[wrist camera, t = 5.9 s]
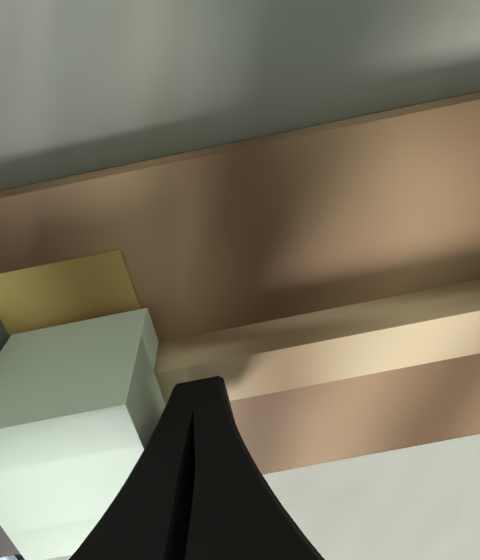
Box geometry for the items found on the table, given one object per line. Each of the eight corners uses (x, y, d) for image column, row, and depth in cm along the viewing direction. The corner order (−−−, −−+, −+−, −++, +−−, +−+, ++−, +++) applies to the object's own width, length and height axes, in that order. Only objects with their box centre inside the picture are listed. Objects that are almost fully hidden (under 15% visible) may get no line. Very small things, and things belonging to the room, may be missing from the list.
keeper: (68, 443, 15) (26, 562, 11) (12, 334, 13) (-61, 440, 9) (185, 420, 15) (179, 534, 11) (147, 308, 13) (125, 404, 9)
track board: (56, 491, 18) (13, 617, 14) (-106, 212, 12) (-256, 290, 8) (500, 407, 17) (588, 513, 13) (540, 78, 12) (710, 93, 8)
